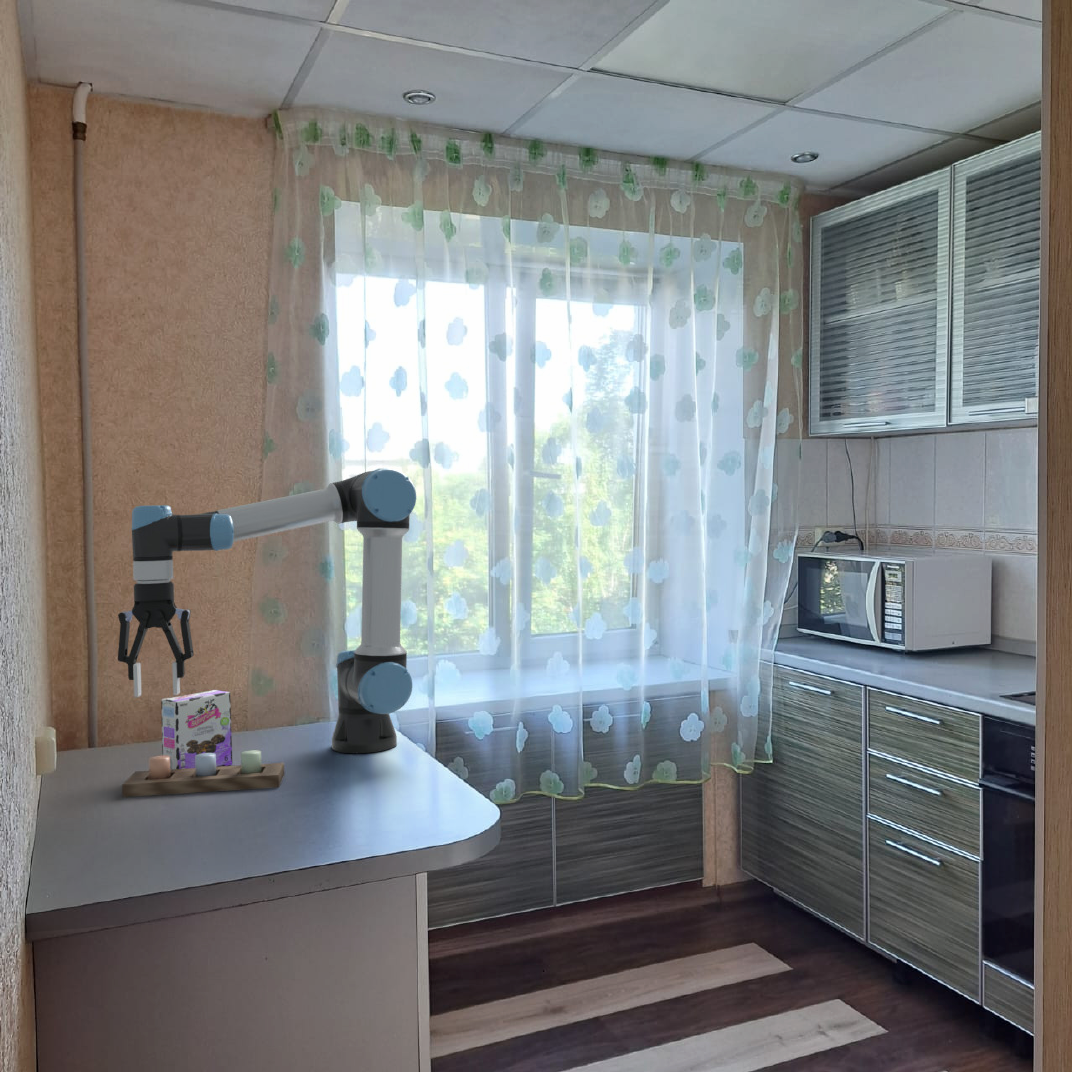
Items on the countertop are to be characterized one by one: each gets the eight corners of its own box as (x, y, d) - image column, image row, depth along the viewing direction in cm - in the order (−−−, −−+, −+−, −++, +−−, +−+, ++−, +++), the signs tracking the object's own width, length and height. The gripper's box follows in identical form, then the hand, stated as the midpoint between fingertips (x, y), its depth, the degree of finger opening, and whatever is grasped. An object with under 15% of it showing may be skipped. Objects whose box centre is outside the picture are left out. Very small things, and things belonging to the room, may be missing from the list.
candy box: (177, 779, 205) (175, 701, 204) (161, 775, 208) (159, 698, 208) (233, 764, 216) (231, 690, 215) (217, 761, 219) (215, 688, 219)
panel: (284, 774, 206) (284, 762, 206) (278, 787, 196) (278, 774, 196) (135, 783, 202) (135, 771, 202) (122, 797, 192) (122, 784, 192)
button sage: (262, 768, 202) (262, 749, 202) (260, 773, 198) (259, 754, 198) (242, 770, 202) (242, 750, 202) (239, 775, 198) (239, 755, 198)
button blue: (217, 771, 201) (217, 752, 201) (214, 776, 197) (213, 756, 197) (197, 772, 201) (197, 753, 201) (193, 777, 197) (193, 758, 197)
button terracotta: (172, 774, 200) (171, 754, 200) (168, 779, 196) (167, 759, 196) (152, 775, 199) (151, 756, 199) (147, 780, 195) (146, 760, 195)
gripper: (207, 578, 202) (211, 689, 202) (107, 582, 199) (111, 694, 200) (200, 581, 195) (204, 695, 195) (96, 584, 192) (100, 700, 192)
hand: (157, 694), depth 197 cm, fingers open, 7 cm apart
